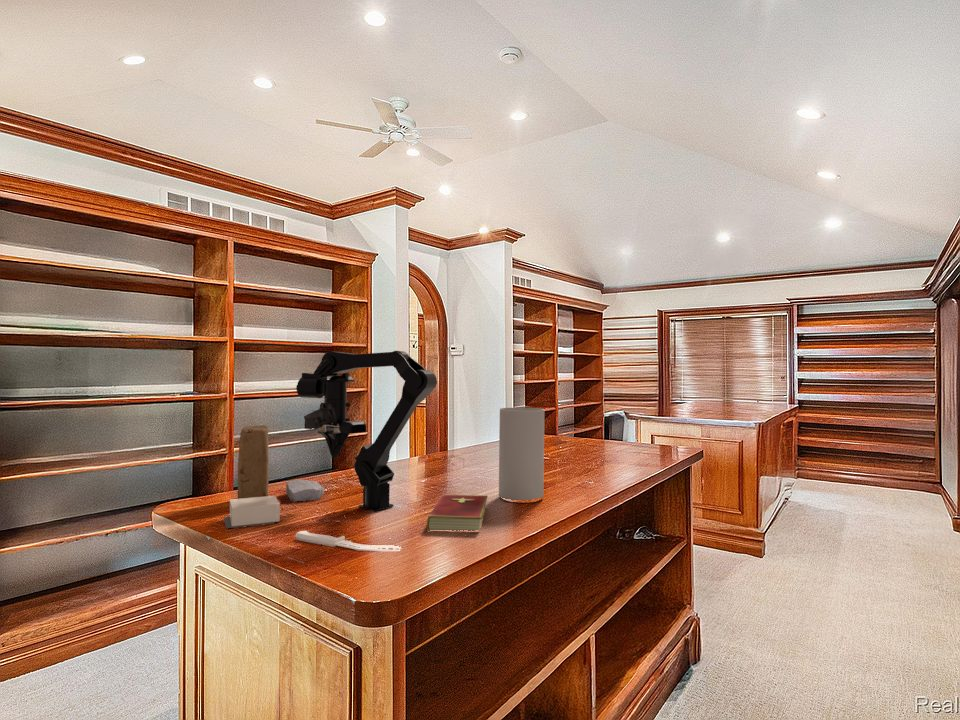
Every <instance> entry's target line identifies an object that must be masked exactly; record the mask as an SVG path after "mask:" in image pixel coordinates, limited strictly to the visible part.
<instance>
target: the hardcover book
mask: <svg viewBox="0 0 960 720" xmlns="http://www.w3.org/2000/svg"><path fill="white" fill-rule="evenodd" d="M487 500H488V495H473V494H472V495H470V494H469V495H468V494H442V495H441V497H440V498H439V500H438V501H437V503H436V505H435V506H434V508H433V509H432V510H431V512H430V514H429V515H428V517H427V519H426V530H427V532H428V531H430V530H452V531H454V530H456V531H458V530H459V531H460V530H463V531H464V530H468V531H471V530H472V531H475V530H480V531H481V529H480V526H481V527H482V525H481V523H482V524H483V521H482V519H483V520H484V518H483V515H484V516H485V514H484V511H485V512H486V510H485V507H486V506H487V505H486V504H487ZM486 508H487V507H486ZM430 532H431V531H430Z"/></svg>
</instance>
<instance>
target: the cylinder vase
mask: <svg viewBox="0 0 960 720" xmlns="http://www.w3.org/2000/svg"><path fill="white" fill-rule="evenodd" d="M498 442H499V445H498V447H499V448H498V497H499V496H500V497H502V498H505V499H511V500H532V499H537V498H541V497H543V498H544V496H545V495H544V492H545V491H544V486H545V485H544V484H545V482H544V481H545V480H544V479H545V477H544V476H545V475H544V474H545V473H544V472H545V409H544V408H537V407H501V408H499V440H498ZM543 495H544V496H543ZM500 497H499V498H500Z"/></svg>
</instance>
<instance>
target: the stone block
mask: <svg viewBox="0 0 960 720" xmlns="http://www.w3.org/2000/svg"><path fill="white" fill-rule="evenodd" d="M285 486H286V488H285V489H286V490H285V491H286V492H285V494H286V493H287V494H286V496H287V495H288V496H287V498H288V497H289V498H288V499H289V500H290V502H292V501H296V502H295V503H298V502H297V501H303V502H307V501H306V500H314V501H319V500H320V498H322V497H323V495H324V493H325V487H323V486H322V485H321V484H320V483H319V482H317V481H313V480H306V479H294V480H290V481H288V482H286V485H285Z"/></svg>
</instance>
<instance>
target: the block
mask: <svg viewBox="0 0 960 720" xmlns="http://www.w3.org/2000/svg"><path fill="white" fill-rule="evenodd" d="M269 448H270V447H269V428H268V426H267V425H247V426H244V427H243V428H241V430H240V435H239V443H238V459H237V460H238V462H237V463H238V464H237V499H242V498H253V497H264V496H269V459H270V458H269V451H270V450H269Z"/></svg>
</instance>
